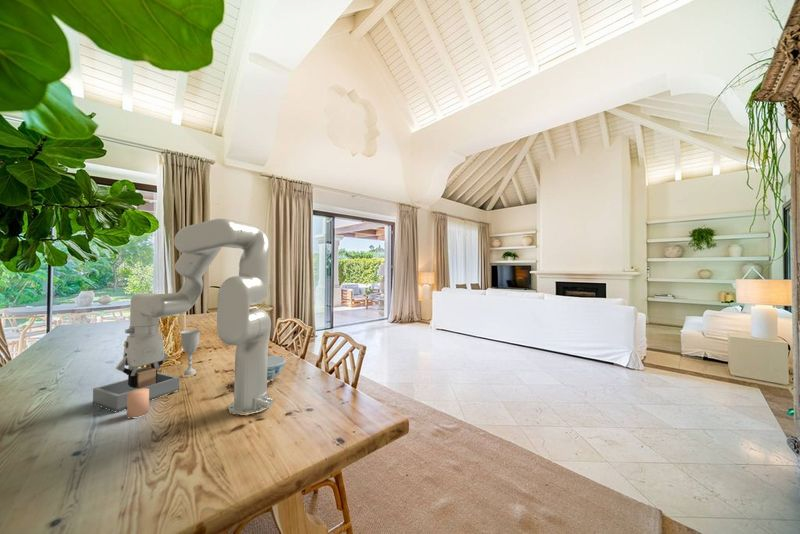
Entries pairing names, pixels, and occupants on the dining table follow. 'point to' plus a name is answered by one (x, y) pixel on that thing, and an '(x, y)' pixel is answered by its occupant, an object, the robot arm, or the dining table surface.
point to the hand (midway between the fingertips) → (142, 383)
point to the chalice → (190, 346)
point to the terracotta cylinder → (137, 402)
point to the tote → (117, 392)
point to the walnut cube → (145, 377)
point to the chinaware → (274, 366)
